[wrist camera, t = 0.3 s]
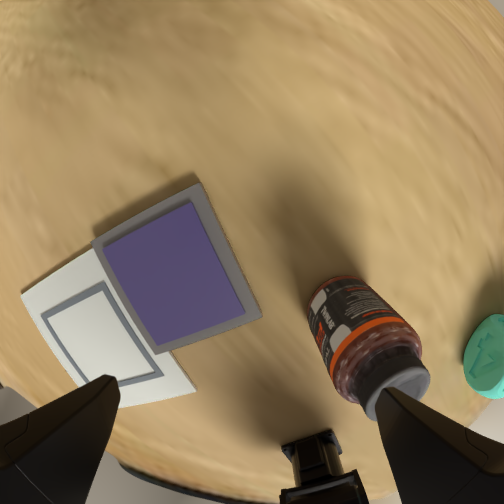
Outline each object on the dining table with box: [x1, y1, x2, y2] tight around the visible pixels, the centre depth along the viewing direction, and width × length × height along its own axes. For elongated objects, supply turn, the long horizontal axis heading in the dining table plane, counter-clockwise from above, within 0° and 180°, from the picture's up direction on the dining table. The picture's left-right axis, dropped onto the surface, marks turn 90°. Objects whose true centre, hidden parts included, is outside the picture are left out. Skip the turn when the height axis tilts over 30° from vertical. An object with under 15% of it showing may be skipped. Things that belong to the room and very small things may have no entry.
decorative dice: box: [463, 314, 504, 399], centre depth 21 cm, size 8×8×8 cm
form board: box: [20, 248, 197, 408], centre depth 22 cm, size 16×14×1 cm
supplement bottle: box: [307, 276, 430, 421], centre depth 16 cm, size 6×6×11 cm
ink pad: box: [90, 183, 262, 355], centre depth 20 cm, size 11×10×1 cm
